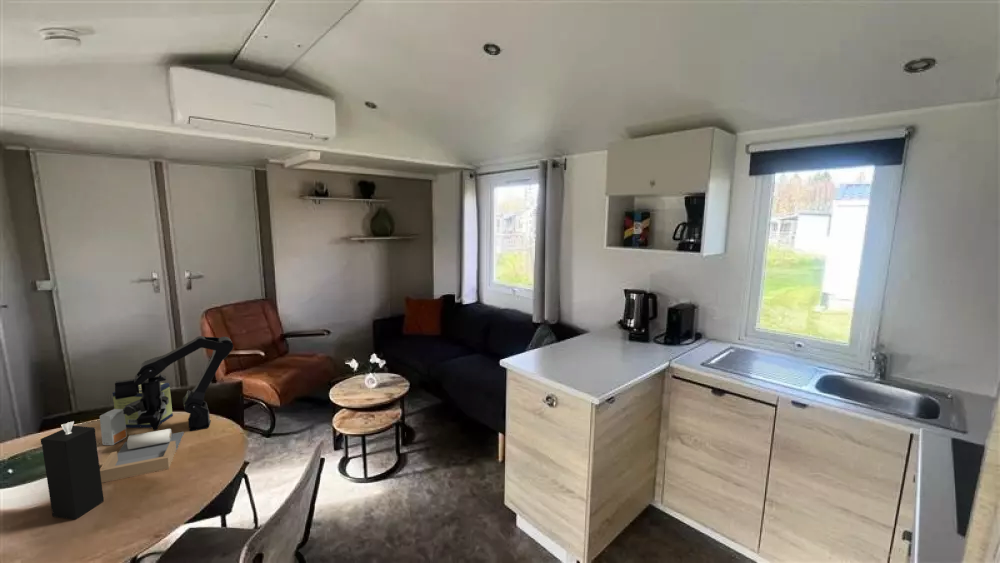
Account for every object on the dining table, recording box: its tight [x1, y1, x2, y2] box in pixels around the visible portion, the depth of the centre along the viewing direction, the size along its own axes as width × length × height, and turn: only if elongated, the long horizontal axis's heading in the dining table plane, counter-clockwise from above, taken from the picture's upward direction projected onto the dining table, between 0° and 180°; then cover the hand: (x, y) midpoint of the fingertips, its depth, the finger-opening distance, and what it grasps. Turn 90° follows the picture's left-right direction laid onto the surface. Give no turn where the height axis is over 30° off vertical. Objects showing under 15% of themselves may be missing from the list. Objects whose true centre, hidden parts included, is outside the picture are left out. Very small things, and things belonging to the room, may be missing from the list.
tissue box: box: [40, 420, 105, 520], centre depth 120 cm, size 8×8×28 cm
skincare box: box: [99, 408, 128, 446], centre depth 157 cm, size 6×4×12 cm
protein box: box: [112, 382, 174, 429], centre depth 171 cm, size 10×16×16 cm
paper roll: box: [126, 428, 173, 449], centre depth 154 cm, size 12×5×5 cm, turn 119°
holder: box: [100, 431, 185, 484], centre depth 149 cm, size 18×26×4 cm
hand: (155, 429), depth 161 cm, fingers closed
